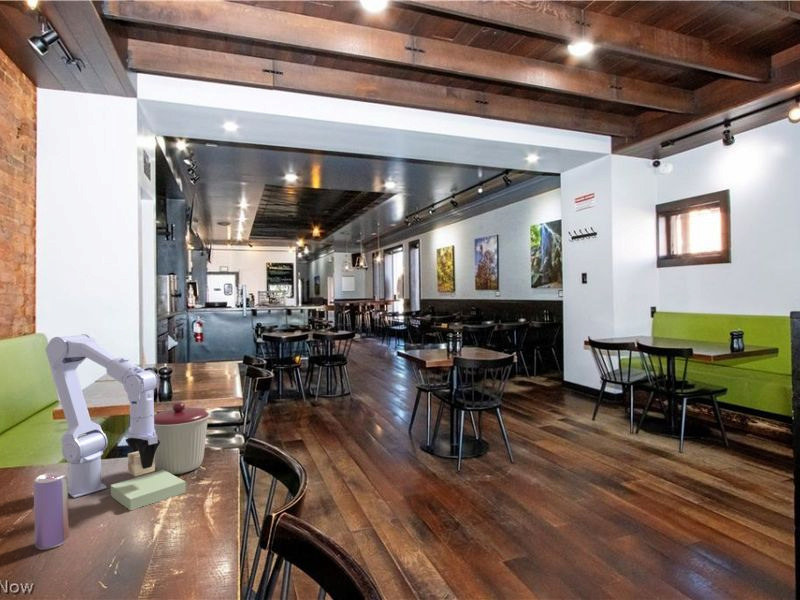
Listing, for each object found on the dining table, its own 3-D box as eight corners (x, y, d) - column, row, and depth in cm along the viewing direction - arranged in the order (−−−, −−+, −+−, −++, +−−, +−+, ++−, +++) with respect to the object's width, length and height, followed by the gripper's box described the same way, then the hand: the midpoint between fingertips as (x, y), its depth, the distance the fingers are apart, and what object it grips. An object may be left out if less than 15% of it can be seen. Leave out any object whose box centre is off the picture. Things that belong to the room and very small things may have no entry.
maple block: (128, 471, 124) (127, 453, 124) (147, 466, 128) (147, 448, 128) (135, 476, 121) (134, 457, 121) (155, 470, 125) (154, 452, 125)
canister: (135, 481, 135) (134, 410, 134) (162, 459, 153) (161, 396, 152) (199, 479, 136) (197, 408, 136) (218, 457, 154) (217, 395, 154)
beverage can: (50, 552, 98) (49, 482, 97) (27, 549, 99) (26, 480, 99) (75, 537, 103) (74, 472, 103) (53, 535, 105) (52, 470, 104)
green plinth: (110, 495, 125) (110, 485, 125) (163, 479, 136) (163, 469, 136) (130, 510, 116) (130, 499, 116) (185, 492, 127) (185, 481, 127)
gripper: (116, 414, 126) (117, 463, 126) (136, 423, 117) (137, 476, 117) (143, 409, 132) (144, 456, 132) (165, 417, 122) (166, 468, 122)
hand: (143, 465), depth 125 cm, fingers closed on maple block, 5 cm apart
